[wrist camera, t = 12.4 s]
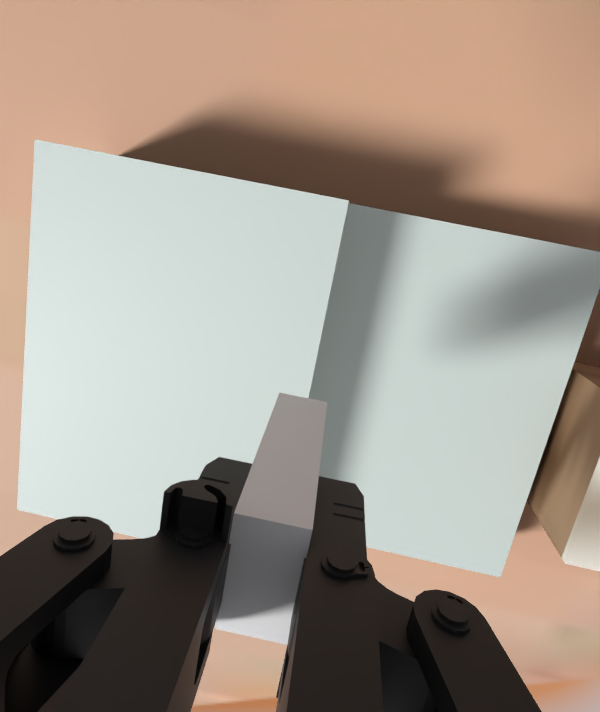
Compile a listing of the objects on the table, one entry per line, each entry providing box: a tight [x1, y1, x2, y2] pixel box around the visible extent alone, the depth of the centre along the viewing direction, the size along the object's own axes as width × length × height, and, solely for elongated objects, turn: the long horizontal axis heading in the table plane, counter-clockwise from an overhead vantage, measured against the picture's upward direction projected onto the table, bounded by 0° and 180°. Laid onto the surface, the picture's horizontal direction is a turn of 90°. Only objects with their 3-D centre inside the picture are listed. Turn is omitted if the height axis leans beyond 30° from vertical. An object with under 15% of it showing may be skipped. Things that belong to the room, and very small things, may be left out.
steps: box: [17, 140, 600, 577], centre depth 24 cm, size 16×23×6 cm
